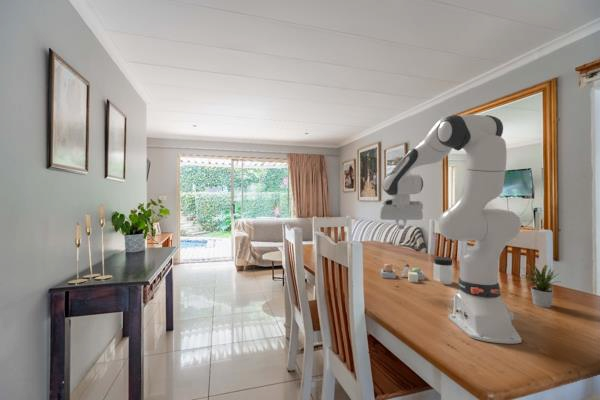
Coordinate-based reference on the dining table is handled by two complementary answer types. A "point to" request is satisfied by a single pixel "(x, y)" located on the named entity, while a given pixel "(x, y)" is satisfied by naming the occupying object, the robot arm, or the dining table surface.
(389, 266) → the terracotta button
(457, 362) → the dining table surface
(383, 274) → the panel
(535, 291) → the house plant
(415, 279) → the slider knob
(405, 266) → the ball-tipped lever
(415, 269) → the green button
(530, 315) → the dining table surface
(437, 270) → the jar
